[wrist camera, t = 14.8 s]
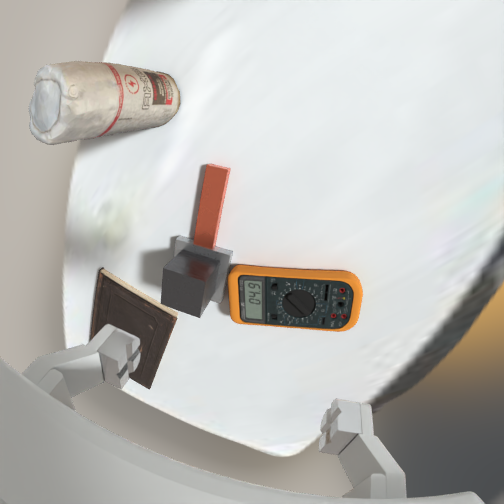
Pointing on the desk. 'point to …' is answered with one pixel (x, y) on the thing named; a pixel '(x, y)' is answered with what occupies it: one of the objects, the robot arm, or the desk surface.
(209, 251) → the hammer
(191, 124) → the desk surface
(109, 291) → the hardcover book
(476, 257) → the desk surface
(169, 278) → the brushed metal cube
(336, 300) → the multimeter
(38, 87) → the spray can
